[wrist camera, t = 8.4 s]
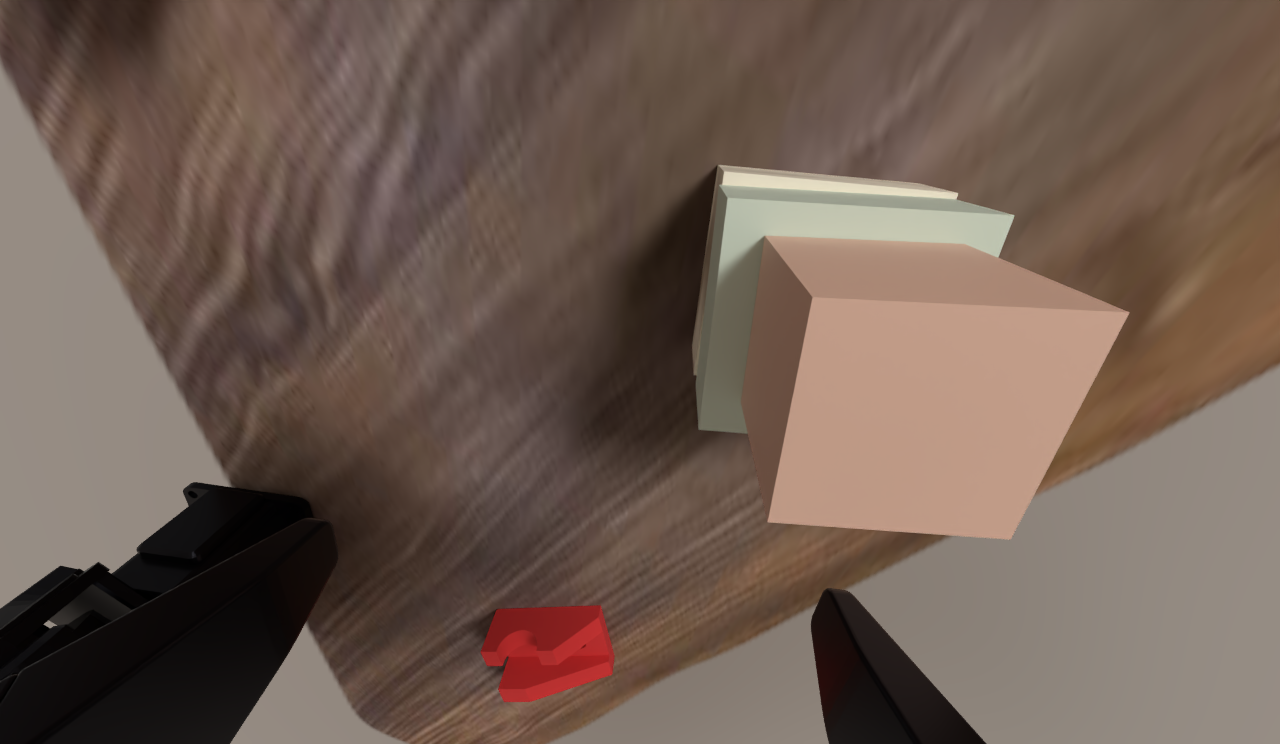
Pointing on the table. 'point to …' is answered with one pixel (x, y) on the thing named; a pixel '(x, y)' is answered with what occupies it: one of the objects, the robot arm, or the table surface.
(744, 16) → the table surface
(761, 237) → the tower top
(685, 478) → the table surface
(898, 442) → the tan block
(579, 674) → the bracket
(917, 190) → the block
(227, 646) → the robot arm
